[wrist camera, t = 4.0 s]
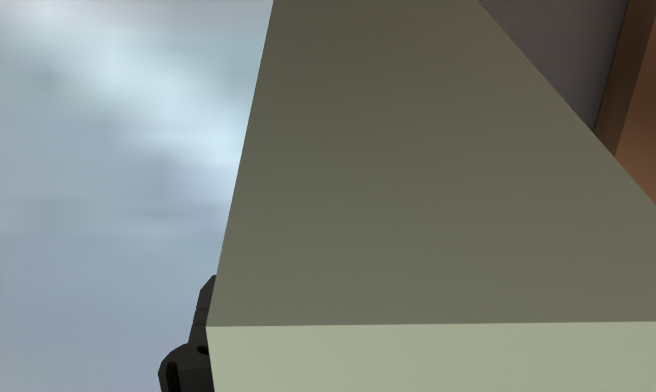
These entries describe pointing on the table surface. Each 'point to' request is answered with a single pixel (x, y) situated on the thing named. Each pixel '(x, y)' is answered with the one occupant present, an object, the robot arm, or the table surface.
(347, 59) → the beige flat panel
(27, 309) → the table surface
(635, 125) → the cabinet frame
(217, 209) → the table surface
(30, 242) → the table surface
